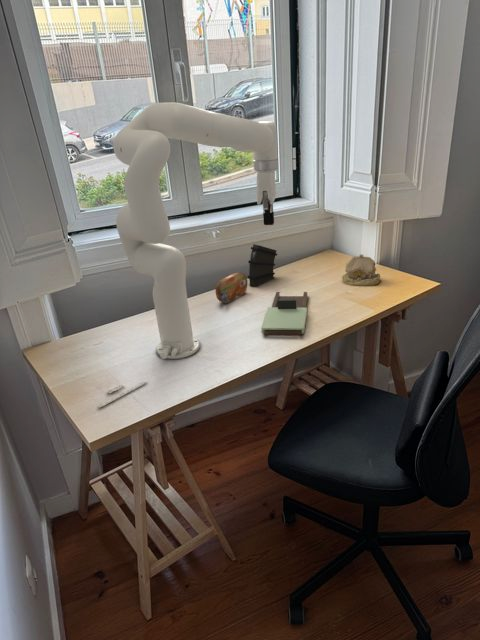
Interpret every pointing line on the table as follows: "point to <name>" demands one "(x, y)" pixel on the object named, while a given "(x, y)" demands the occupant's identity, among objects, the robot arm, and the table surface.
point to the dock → (300, 304)
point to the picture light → (120, 392)
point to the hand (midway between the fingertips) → (269, 224)
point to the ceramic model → (361, 271)
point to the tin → (231, 287)
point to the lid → (285, 316)
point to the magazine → (261, 264)
